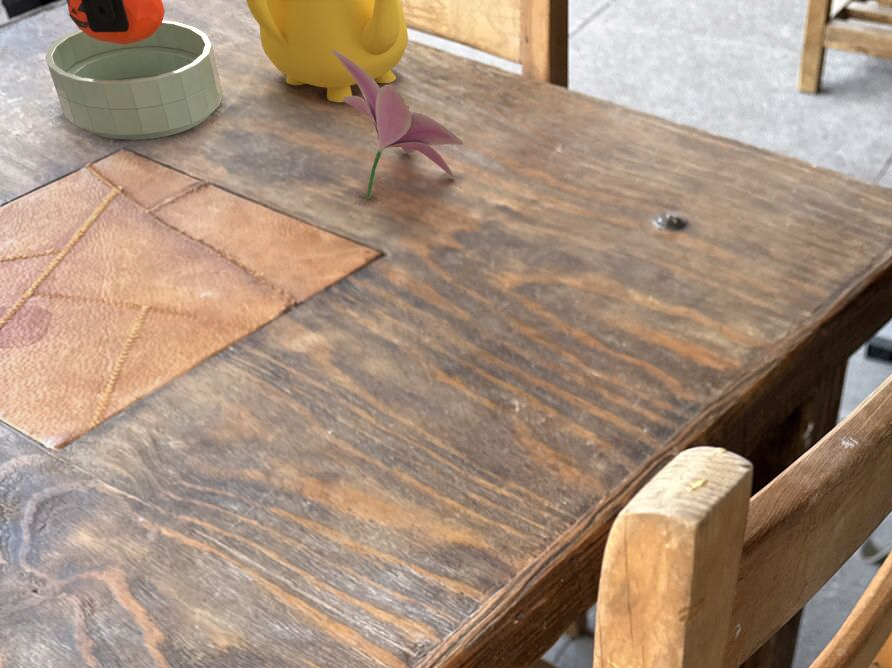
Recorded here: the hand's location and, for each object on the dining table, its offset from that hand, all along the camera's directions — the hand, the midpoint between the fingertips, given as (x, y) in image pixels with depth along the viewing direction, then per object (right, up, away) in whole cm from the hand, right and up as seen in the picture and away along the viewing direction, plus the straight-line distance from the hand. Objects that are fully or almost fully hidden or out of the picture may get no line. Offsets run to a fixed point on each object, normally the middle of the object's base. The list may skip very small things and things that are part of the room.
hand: (118, 10), depth 100 cm
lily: (+25, -16, -1) cm, 29 cm away
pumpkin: (0, -2, +2) cm, 2 cm away
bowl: (0, -5, +6) cm, 8 cm away
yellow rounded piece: (+18, 0, +11) cm, 21 cm away
